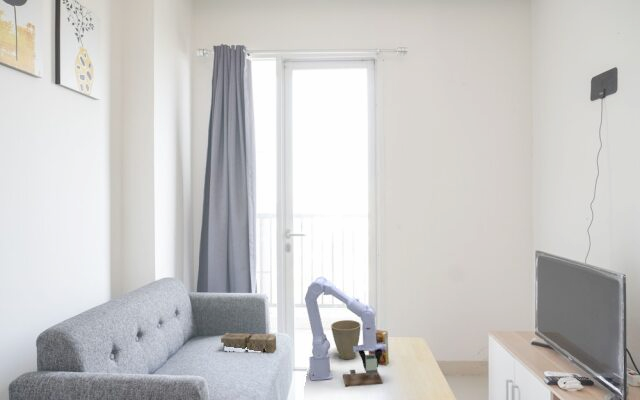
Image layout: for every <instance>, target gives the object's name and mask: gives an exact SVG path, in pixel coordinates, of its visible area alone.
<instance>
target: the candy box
mask: <svg viewBox="0 0 640 400" xmlns="http://www.w3.org/2000/svg"><path fill="white" fill-rule="evenodd" d="M376 344H386V346H387V350H382V355H381V357H380V360H379V364H378V365H382V366H387V365H388V364H389V361H390V359H389V334H388V331H386V330H380V329H379V330H378V329H376ZM371 354H375V350H374V351H368V355H371Z"/></svg>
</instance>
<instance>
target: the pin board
mask: <svg viewBox="0 0 640 400" xmlns="http://www.w3.org/2000/svg"><path fill="white" fill-rule="evenodd" d="M342 378H343V382H344V386H345V387H347V388H348V387H357V386H372V385H382V384H383V382H384V381H383V379H382V377H381V376H380V374H379V372H378V373H366V372H358V373H357V372H356V370H355V369H350V370H349V373H347V374H346V373H343V374H342Z"/></svg>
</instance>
